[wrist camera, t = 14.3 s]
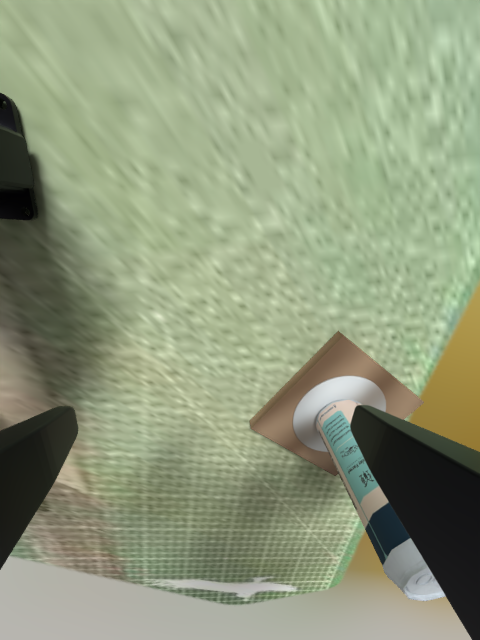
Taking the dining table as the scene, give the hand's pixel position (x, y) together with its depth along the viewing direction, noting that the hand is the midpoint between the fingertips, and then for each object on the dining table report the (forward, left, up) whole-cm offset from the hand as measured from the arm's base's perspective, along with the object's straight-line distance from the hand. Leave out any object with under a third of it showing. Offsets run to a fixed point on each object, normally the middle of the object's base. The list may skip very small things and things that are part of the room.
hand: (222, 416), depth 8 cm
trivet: (+12, -11, -13) cm, 21 cm away
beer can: (+12, -11, -12) cm, 20 cm away
